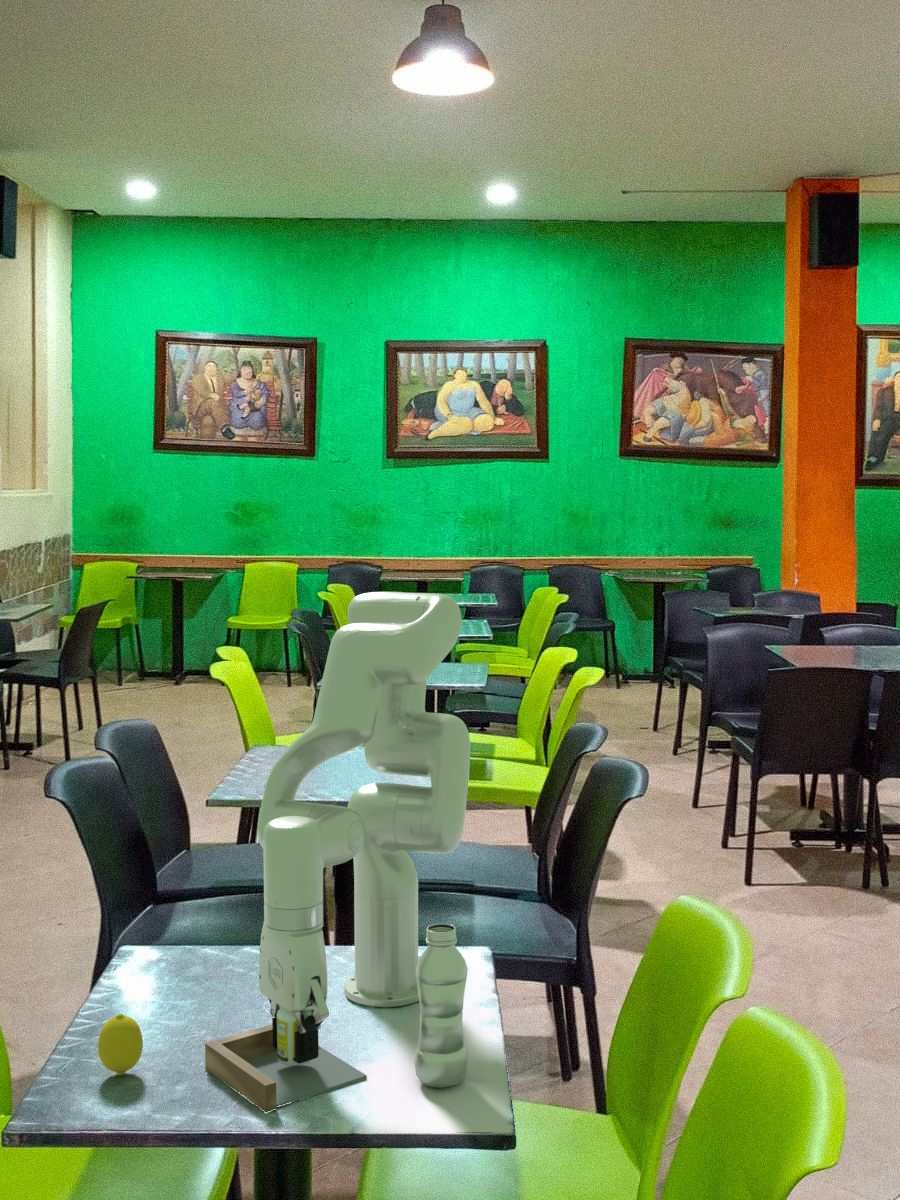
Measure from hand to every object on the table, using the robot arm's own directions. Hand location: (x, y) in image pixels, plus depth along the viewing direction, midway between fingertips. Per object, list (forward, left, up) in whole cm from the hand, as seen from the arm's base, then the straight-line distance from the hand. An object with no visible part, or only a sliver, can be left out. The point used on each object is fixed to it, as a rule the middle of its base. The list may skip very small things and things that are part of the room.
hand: (295, 1051), depth 167 cm
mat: (+1, +1, -3) cm, 3 cm away
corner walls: (+1, 0, -3) cm, 3 cm away
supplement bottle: (0, 0, -1) cm, 1 cm away
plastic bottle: (-13, +14, -3) cm, 19 cm away
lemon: (+18, -13, -3) cm, 22 cm away
